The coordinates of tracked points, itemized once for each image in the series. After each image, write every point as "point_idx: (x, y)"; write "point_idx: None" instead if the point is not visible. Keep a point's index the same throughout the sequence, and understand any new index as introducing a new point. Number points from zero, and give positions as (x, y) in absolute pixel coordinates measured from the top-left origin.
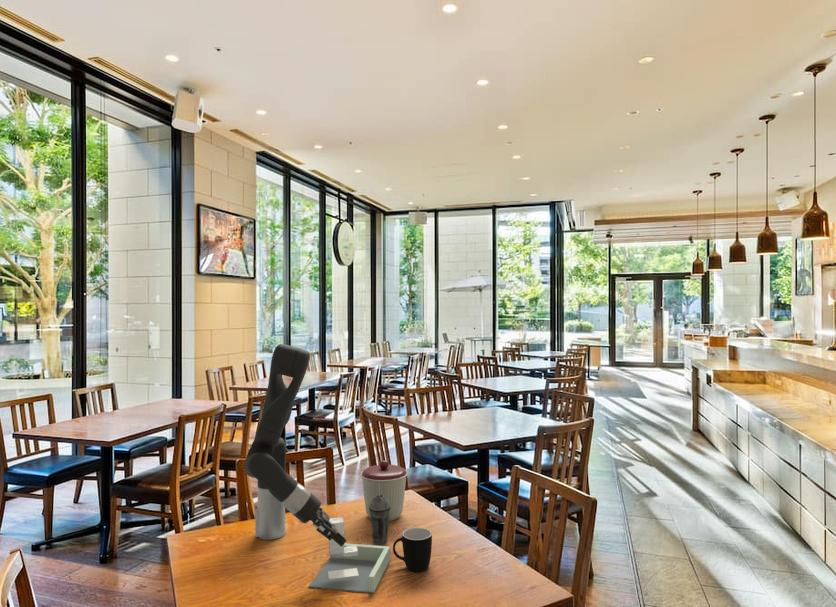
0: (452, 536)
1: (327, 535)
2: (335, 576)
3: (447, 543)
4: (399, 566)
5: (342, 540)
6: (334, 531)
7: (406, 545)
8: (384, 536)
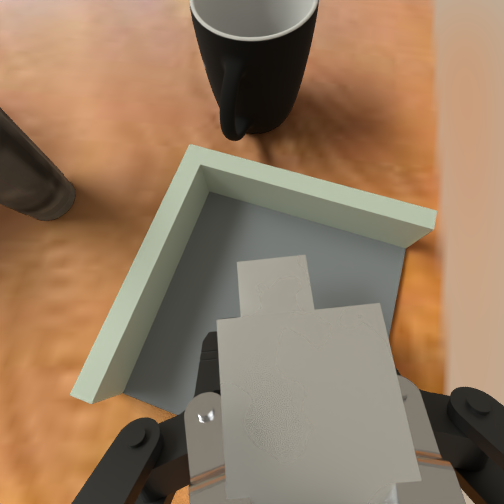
0: (91, 12)
1: (500, 492)
2: None
3: (130, 28)
4: (241, 153)
5: None
6: (484, 414)
7: (291, 61)
8: (56, 168)
